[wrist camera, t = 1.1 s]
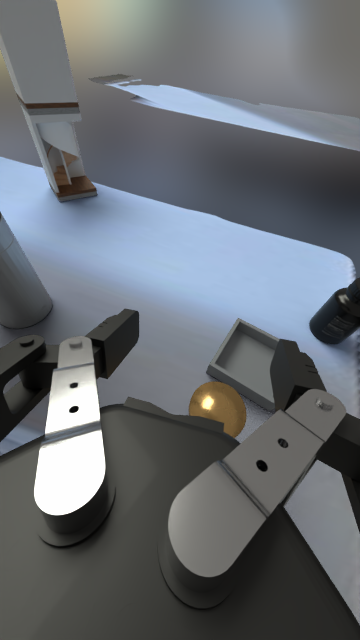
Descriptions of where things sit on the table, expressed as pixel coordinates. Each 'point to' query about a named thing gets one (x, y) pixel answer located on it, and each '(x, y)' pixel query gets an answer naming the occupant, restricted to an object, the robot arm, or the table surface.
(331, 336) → the supplement bottle
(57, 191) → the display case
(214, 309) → the table surface
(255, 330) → the tray
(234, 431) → the pin
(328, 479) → the table surface
